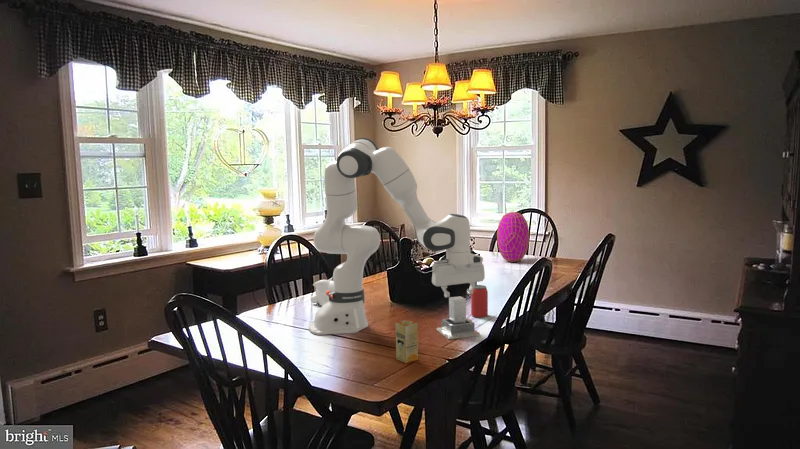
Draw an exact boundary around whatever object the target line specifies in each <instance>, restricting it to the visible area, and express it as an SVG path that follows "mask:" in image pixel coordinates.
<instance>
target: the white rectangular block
mask: <svg viewBox="0 0 800 449" xmlns="http://www.w3.org/2000/svg"><path fill="white" fill-rule="evenodd" d="M466 318H467V299H466V298H464V297H463V296H460V295H459V296H450V297H448V319H449V323H451V324H452V325H456V324H465V323H466Z"/></svg>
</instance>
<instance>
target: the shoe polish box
mask: <svg viewBox="0 0 800 449" xmlns="http://www.w3.org/2000/svg"><path fill="white" fill-rule="evenodd" d="M418 328H419V327H418V322H416V321H414V320H411V319H403V320H399V321H396V322H395V356H396V358H395V359H396V360H398V361H400V362H402V363H405V364H408V363H411V362H414V361H418V360H419V332H418V331H419V329H418Z"/></svg>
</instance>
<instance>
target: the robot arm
mask: <svg viewBox="0 0 800 449" xmlns="http://www.w3.org/2000/svg"><path fill="white" fill-rule="evenodd" d="M371 173H372V174H374V175H375V176H376V177H377V179H378V180H379V182H380V184H381V185H382V186H383V188H384V189H385V191H386V193H388V194H389V196H390V197H391V198H392V199H393V200H394V201H395V202H397V204H399V206H401V207H402V209H403V210H404V212H405V213H406V215H407V217H408V219H409V220H410V222H411V223H412V225H413V228H414V233H415V234H414V235H415V238H416V241H417V242H418V244H420V246H422V247H424V248H425V249H427V250H429V251H432V252H439V251H444V250H445V259H442V260H435V261H434V262H433V263H432V269H431V270H432V276H431V283H432V285H434V286H435V287H441V289H442V292H443V296H444V298H449V297H451V295H450V294H451V293H450V292H449V291H448V290H447V289H448V286H453V285H462V284H469V288H466V294H467V295H471V294H473V289H474V287H475V285H477V284H476V283H478V282H483V281H484V280H485V276H486V273H485V265H484V264H483V261H484V257H483V256H481V255H478V254H475V253H471V246H470V241H471V225H470V224H471V223H470V220H469V218H468V217H467V216H465V215H463V214H457V213H449V214H447V215H446V216H445V217H444V218H442V219H440V220H439V221H437V222H435V221H434V220H433V219H431V217H429V216H428V214H427V213H426V211H425V209H424V208H423V206H422V204H421V203H420V201H419V199H418V194H417V190H418V184H417V181H416V178H415V176H414V174H413V172H412V170H411V168H410V167H409V166H408V164H407V163H406V161H405V160H404V159H403V158H402V156H401V155H400V154H399V153H398V152H397V150H396V149H394V148H393V147H391V146H384V147H383V146H382V147H381V148H379V147H378V145H377V142H375V141H374V140H372V139H371V138H367V137H360V138H357V139H355V140H354V141H352V142H350V143H349V144H347V145H346V146H345V148H344V149H342V150H341V151H340V152H339V153H338V156H337V158H336V160H333V161H331V162H329V163H327V165H326V166H325V167H324V180H323V181H324V191H325V192H324V193H325V199H326V200H325V201H326V215H325V219H324V221H323V222H322V224H321V225H320V226H318V227H317V228H316V230H315V231H314V234H313V244H314V247H315V249H316V250H317V251H318V252H321V253H326V254H330V255H331V254H332V255H334V254H335V255H346V261H344V262H342V263H340V264H338V265H337V266H336V267H335V268H334V269H333V273H332V277H333V278H332V281H333V282H334V290H333V291H329V290H327V292H326V295H327V296H329V301H328V302H327V303H326V304H324V305H323V306H321V307H319V308H318V309H317V310H316V312H315V314H314V320H313V321H314V322H311V323H309V324H308V331H309V332H311V334H314V335H317V336H319V335H320V336H321V335H337V334H339V335H340V334H354V333H359V331H361V330H363V329H365V328H367V327H368V326H369V323H368V320H367V317H366V309H365V300H366V299H365V290H364V288H363V287H364V285H363V284H364V283H363V281H364V279H363V278H364V270H365V269H364V268H365V265H366V263H367V261H368V259H369V258H370V257H371V256H372V255H373V254H374V253H376V252H377V250H379V247H380V245H381V235H380V233H379V231H378V229H377V228H375V227H374V226H369V225H364V224H347V223H346V219H349V218H350V217H352V216H353V215H354V214H355V213H357V210H358V208H359V207H358V198H357V190H356V184H355V183H356V181H355V178H359V177H365V176H368V175H370V174H371Z"/></svg>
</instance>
